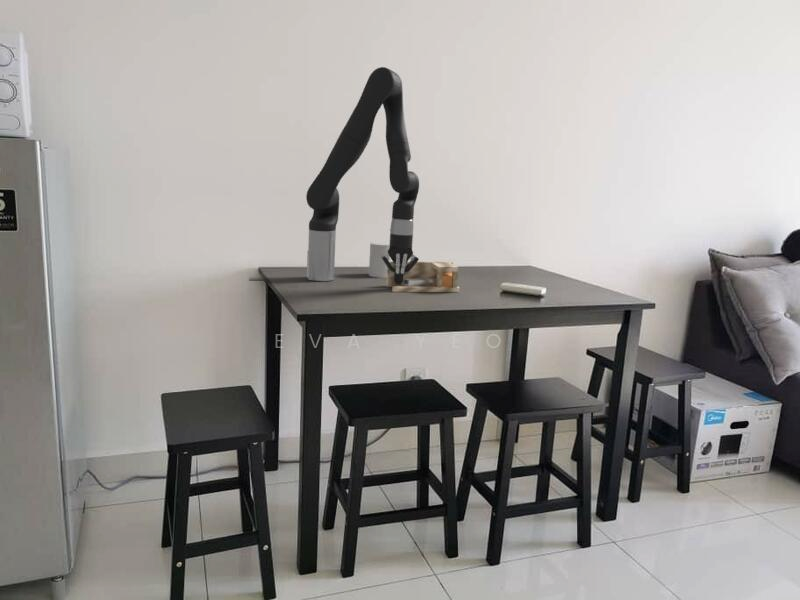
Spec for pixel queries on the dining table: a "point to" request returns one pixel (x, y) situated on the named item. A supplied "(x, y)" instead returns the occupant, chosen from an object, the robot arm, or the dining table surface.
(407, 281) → the grey long rectangular bar
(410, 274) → the bridge channel
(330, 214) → the robot arm
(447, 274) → the block
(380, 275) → the cup
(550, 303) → the dining table surface
